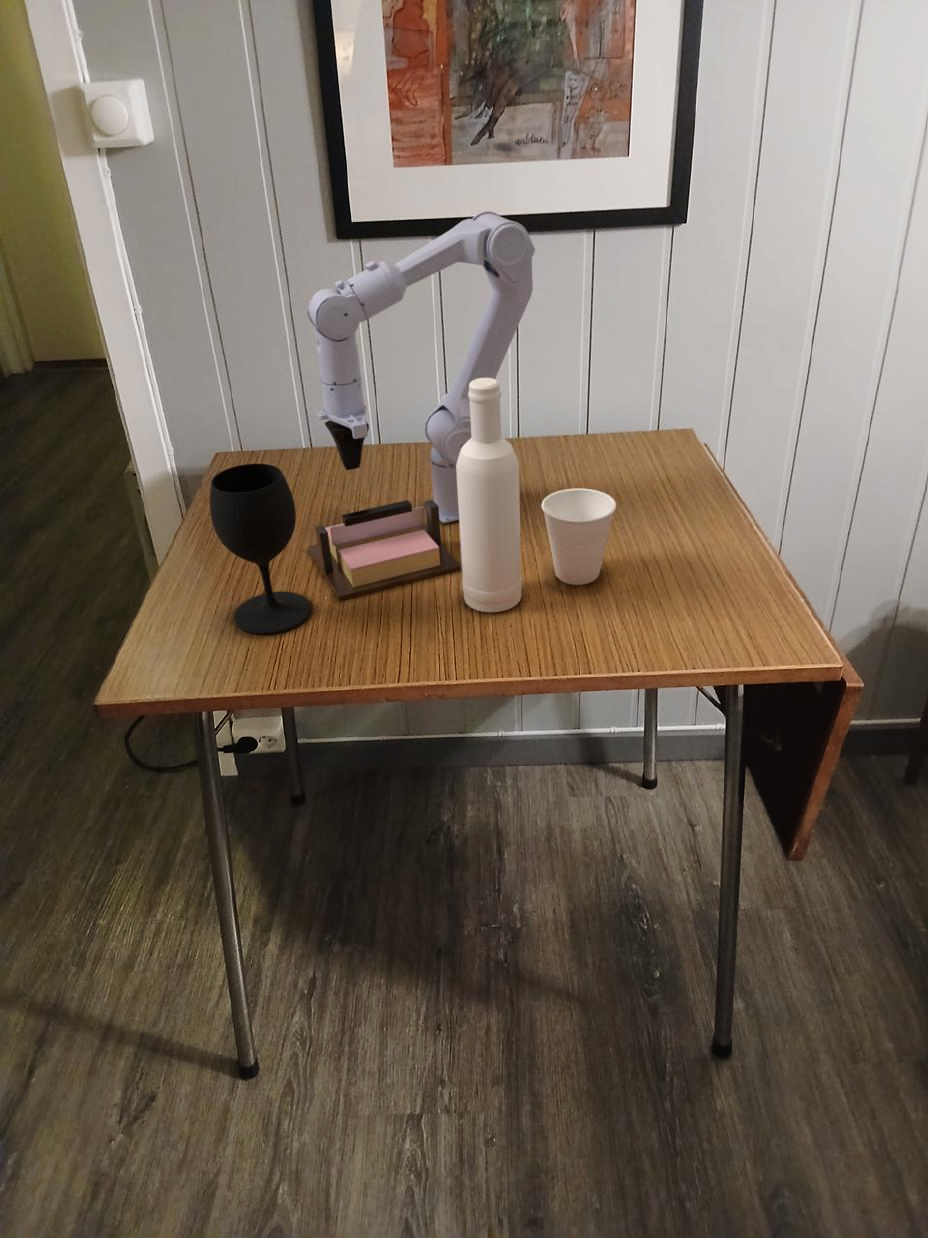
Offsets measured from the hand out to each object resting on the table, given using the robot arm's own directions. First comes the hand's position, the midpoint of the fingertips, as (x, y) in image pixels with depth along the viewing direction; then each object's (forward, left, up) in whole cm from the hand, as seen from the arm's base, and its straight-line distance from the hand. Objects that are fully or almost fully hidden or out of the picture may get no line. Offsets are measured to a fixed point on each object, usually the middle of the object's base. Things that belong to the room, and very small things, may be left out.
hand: (352, 467), depth 139 cm
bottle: (-10, +28, -11) cm, 32 cm away
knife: (0, +11, -6) cm, 13 cm away
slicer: (0, +11, -10) cm, 15 cm away
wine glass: (+18, +18, -11) cm, 28 cm away
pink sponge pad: (0, +11, -10) cm, 15 cm away
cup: (-23, +28, -11) cm, 38 cm away
